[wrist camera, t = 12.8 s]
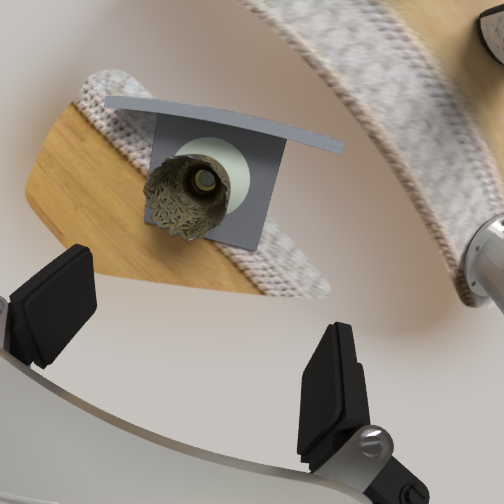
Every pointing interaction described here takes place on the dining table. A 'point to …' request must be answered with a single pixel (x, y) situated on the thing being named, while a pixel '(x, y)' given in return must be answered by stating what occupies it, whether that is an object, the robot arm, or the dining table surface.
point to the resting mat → (236, 165)
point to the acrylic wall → (227, 120)
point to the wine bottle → (493, 31)
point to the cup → (187, 195)
